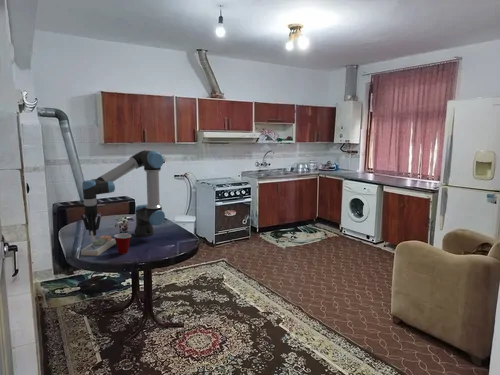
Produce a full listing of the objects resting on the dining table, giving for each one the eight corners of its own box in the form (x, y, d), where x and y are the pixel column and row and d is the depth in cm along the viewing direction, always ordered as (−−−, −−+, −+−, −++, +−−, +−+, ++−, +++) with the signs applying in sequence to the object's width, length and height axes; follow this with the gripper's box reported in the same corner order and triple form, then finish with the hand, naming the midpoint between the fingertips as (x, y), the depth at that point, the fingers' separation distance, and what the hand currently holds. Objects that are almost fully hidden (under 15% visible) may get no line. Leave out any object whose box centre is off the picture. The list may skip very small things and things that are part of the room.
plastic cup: (135, 252, 226) (134, 235, 224) (120, 256, 218) (119, 238, 216) (126, 248, 233) (126, 231, 231) (111, 252, 225) (110, 235, 223)
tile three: (99, 249, 226) (99, 245, 226) (95, 252, 220) (94, 249, 220) (91, 249, 227) (90, 245, 226) (86, 252, 221) (85, 248, 220)
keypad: (116, 243, 244) (115, 238, 243) (97, 255, 219) (97, 250, 218) (101, 242, 244) (100, 237, 244) (81, 254, 220) (80, 249, 219)
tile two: (105, 242, 234) (105, 239, 233) (101, 245, 228) (101, 241, 228) (97, 242, 234) (97, 238, 234) (92, 244, 228) (92, 241, 228)
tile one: (111, 238, 242) (111, 235, 241) (107, 241, 236) (107, 238, 235) (103, 238, 242) (102, 235, 242) (98, 241, 236) (98, 237, 236)
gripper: (103, 203, 222) (105, 238, 226) (83, 203, 223) (86, 238, 227) (97, 206, 214) (100, 242, 219) (77, 205, 215) (80, 241, 220)
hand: (93, 240), depth 223 cm, fingers closed
